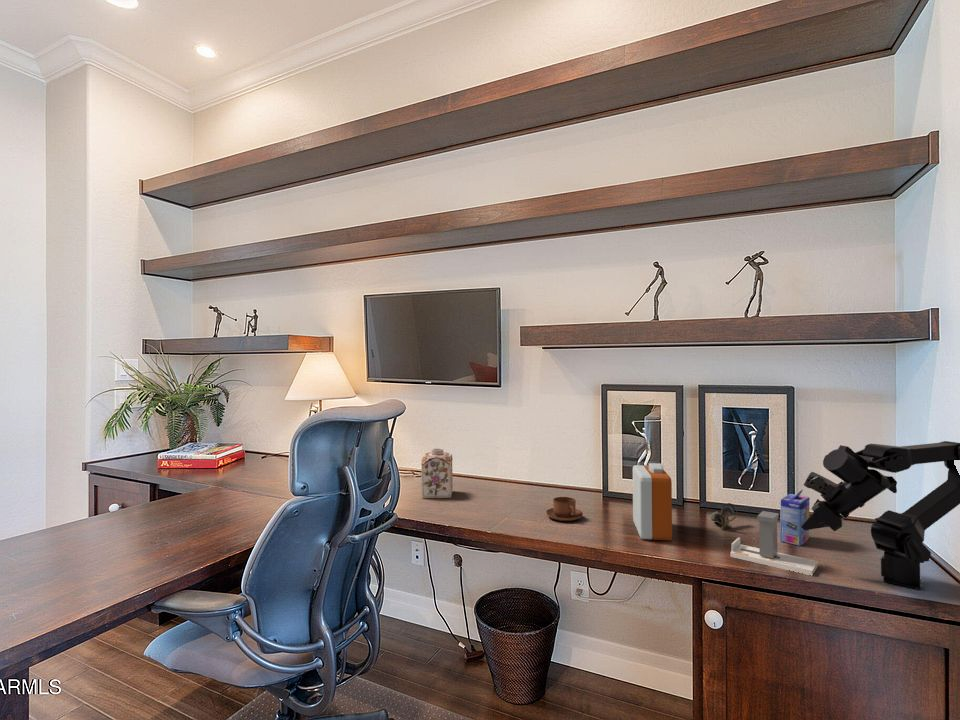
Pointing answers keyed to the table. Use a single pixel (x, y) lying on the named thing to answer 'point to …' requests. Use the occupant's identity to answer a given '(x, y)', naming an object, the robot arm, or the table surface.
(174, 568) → the table surface
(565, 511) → the cup and saucer
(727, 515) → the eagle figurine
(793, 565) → the switch unit
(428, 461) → the decorative jar
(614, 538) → the table surface
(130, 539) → the table surface
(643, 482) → the alarm clock
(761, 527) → the switch knob
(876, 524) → the robot arm
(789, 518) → the ink cartridge box
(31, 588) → the table surface
